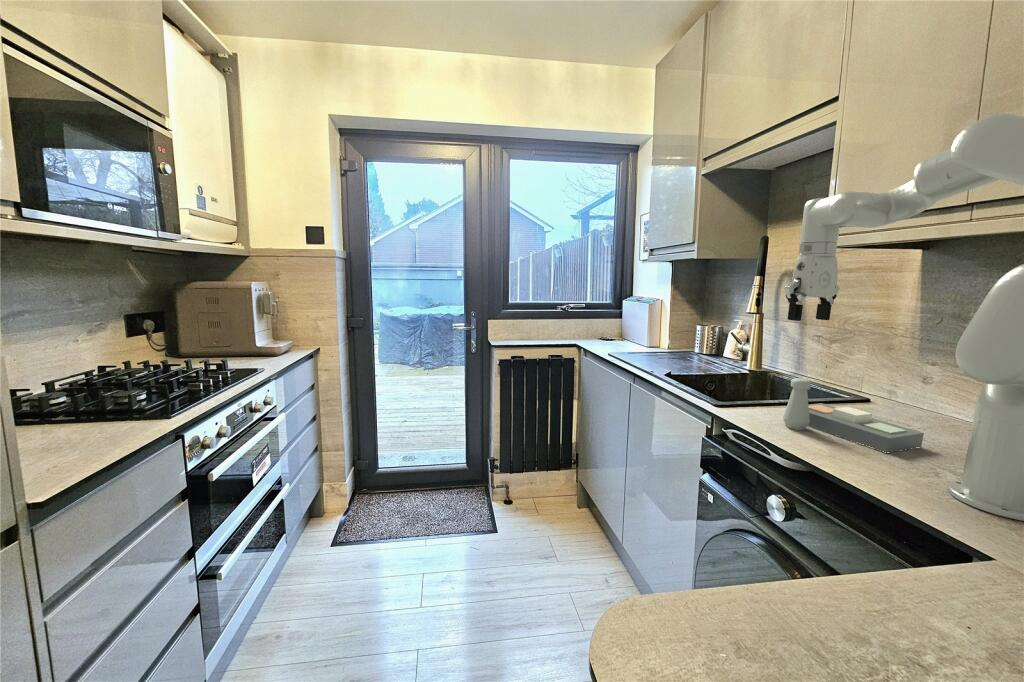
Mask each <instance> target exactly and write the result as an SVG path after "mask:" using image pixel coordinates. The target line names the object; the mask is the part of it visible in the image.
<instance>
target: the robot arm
mask: <svg viewBox="0 0 1024 682" xmlns="http://www.w3.org/2000/svg"><path fill="white" fill-rule="evenodd" d="M1000 180H1001V181H1006V182H1010V183H1013V184H1018V185H1021V186H1024V116H1022V115H1018V114H1014V113H1013V114H1011V113H998V114H993V115H988V116H986V117H982V118H980V119H978V120H975V121H974V122H972V123H971V124H969V125H968V126H966V127H965V128H964V129H963V130H961V132H960V133H959V134H958V135H957V136H956V137H955V138H954V140H953V143H952V145H951V146H950V148H948V149H946V150H944V151H941V152H939V153H936V154H934V155H931V156H929V157H927V158H925V159H922V160H921V161H920V162H919V163H917V165H916V167H915V168H914V172H913V179H912V180H910V181H908V182H906V183H904V184H902V185H900V186H897V187H895V188H892V189H889V190H887V191H884V192H881V193H874V192H865V191H844V192H840V193H836V194H834V195H831V196H828V197H820V198H819V197H818V198H813V199H810V200H808V201H806V203H804V207H803V215H802V223H801V230H800V239H799V240H800V241H799V249H798V256H797V258H796V261H795V265H794V269H793V274H792V278H791V282H789V283H787V284H786V285H785V286H784V288H783V289H784V293H785V298H786V300H787V304H788V312H787V321H794V322H795V321H796V322H800V321H802V315H803V309H804V305H803V304H802V303H803V301H804V300H805V299H806V298H807V297H809V298H817V300H818V302H819V303H817V304H816V305H817V306H816V314H815V319H816V320H819V321H830V320H831V319H830V318H831V312H832V305H834V302H835V300H836V298H837V294H838V293H839V291H840V286H839V285H838V274H839V273H838V272H839V269H838V265H839V264H838V257H837V255H836V254H837V247H838V241H839V240H838V239H839V234H840V232H839V231H840V227H848V228H849V227H850V228H854V227H855V228H862V229H863V228H867V229H873V228H879V227H883V226H886V225H891V224H893V223H896V222H899V221H903V220H906V219H909V218H911V217H913V216H916V215H919V214H921V213H923V212H924V211H926V210H927V209H929V208H931V207H933V206H934V205H935V204H937V203H938V202H939V201H940V202H941V201H942V200H944V199H947V198H950V197H953V196H955V195H959V194H962V193H964V192H968V191H970V190H973V189H976V188H979V187H982V186H985V185H988V184H991V183H995V182H997V181H1000ZM954 355H955V361H956V365H957V366H958V368H959V369H960V370H961V372H963V374H965V376H967V377H968V378H970V379H972V380H974V381H977V382H979V383H982V387H981V389H980V391H979V394H978V397H977V400H976V406H975V411H974V415H973V420H972V426H971V429H970V435H969V439H968V444H967V445H968V446H967V452H966V455H965V462H964V466H963V471H962V476H961V477H962V478H961V479H959V480H953V481H950V482H949V483H948V485H947V491H948V493H949V494H950V495H951V496H953V498H955V499H957V500H959V501H960V502H963V503H965V504H966V505H969V506H971V507H972V508H973V507H974V508H976V509H979V510H981V511H984V512H987V513H989V514H993V515H996V516H1000V517H1004V518H1006V519H1007V518H1008V519H1011V520H1017V521H1022V522H1024V263H1023V264H1020V265H1018V266H1016V267H1014V268H1012V269H1010V270H1009V271H1008V272H1006V273H1005V274H1004V275H1002V276H1001V277H1000V278H999V279H998V280H997V281H996V282H995V283H994V284H993V286H992V287H991V289H990V290H989V292H988V293H987V295H986V296H985V298H984V299H983V301H982V303H981V304H980V306H979V308H978V309H977V310H976V312H975V314H974V315H973V316H972V318H971V320H970V322H969V324H967V326H966V328H965V330H964V331H963V332H962V335H961V336H960V339H958V342H957V345H956V348H955V354H954Z"/></svg>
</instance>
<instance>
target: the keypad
mask: <svg viewBox="0 0 1024 682" xmlns="http://www.w3.org/2000/svg"><path fill="white" fill-rule="evenodd" d="M811 405H822V406H826V407H829V408H832V409H834V408H837V407H836V406H832V405H830V404H829V405H828V404H826V403H822V402H821V403H810V404H809V403H808V406H811ZM809 417H810V422H809V424H808V426H807V427H810V428H813V429H815V428H816V429H815V430H818V429H819V431H821V430H822V432H824V431H825V432H824V433H827V432H828V434H830V433H831V434H830V435H833V434H834V435H833V436H835V435H837V436H836V437H838V436H840V437H839V438H841V437H843V438H842V439H844V438H846V439H845V440H847V439H849V440H848V441H850V440H852V441H855V442H858V443H861V444H864V445H867V446H870V447H873V448H875V449H878V450H881V451H884V452H886V453H885V454H888V453H887V452H893V451H899V452H901V451H900V450H905V449H910V450H912V449H911V448H916V447H921V448H922V445H923V439H924V436H925V435H924V433H925V432H923V431H918V430H915V429H911V428H908V427H904V426H901V425H898V424H895V423H891V422H888V421H884V420H880V419H876V418H874V417H871V422H866V423H858V424H855V423H851V422H848V421H845V420H842V419H839V418H835V417H832V413H831V414H823V413H820V412H816V411H813V410H810V409H809ZM879 422H880V423H883V424H887V425H890V426H893V427H897V428H900V429H904V430H906V433H899V434H892V435H890V434H887V433H883V432H880V431H877V430H874V429H871V428H867V427H864V424H871V423H879ZM852 441H851V442H852ZM855 442H854V443H855ZM858 443H857V444H858ZM861 444H860V445H861ZM864 445H863V446H864ZM867 446H866V447H867ZM870 447H869V448H870ZM875 449H874V450H875ZM916 449H917V448H916ZM878 450H877V451H878ZM881 451H880V452H881ZM905 451H906V450H905ZM884 452H883V453H884ZM893 453H894V452H893Z"/></svg>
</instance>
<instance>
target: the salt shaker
mask: <svg viewBox="0 0 1024 682" xmlns="http://www.w3.org/2000/svg"><path fill="white" fill-rule="evenodd" d="M811 386H812V383H811V381H810V380H809V379H806V378H797V377H795V378H793V379H791V381H790V387H791V388H792V390H791V393H790V396H789V399H788V402H787V405H786V407H785V410H784V414H783V416H782V417H783V421H784V424H785V425H784V426H785V427H786V428H789V429H790V430H796V431H805V430H806V428H808V427H809V426H808V424H809V422H810V417H809V407H808V405H809V398H808V397H809V395H808V390H810V389H811Z"/></svg>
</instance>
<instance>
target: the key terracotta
mask: <svg viewBox="0 0 1024 682" xmlns="http://www.w3.org/2000/svg"><path fill="white" fill-rule="evenodd" d="M808 407H809V409H810V410H813V411H816V412H820V413H823V414H831V413H833V409H832V408H829V407H826V406H822V405H811V406H808Z"/></svg>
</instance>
